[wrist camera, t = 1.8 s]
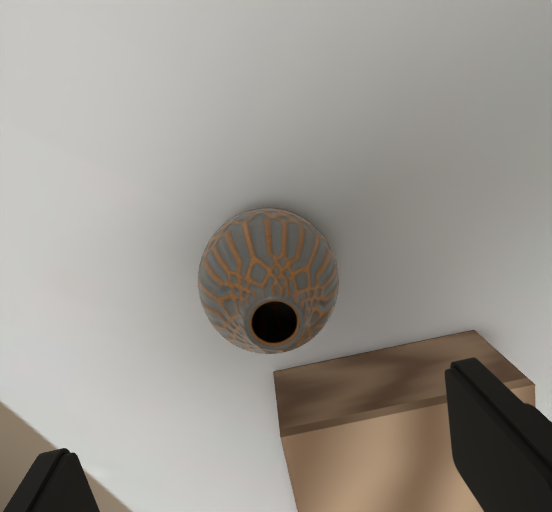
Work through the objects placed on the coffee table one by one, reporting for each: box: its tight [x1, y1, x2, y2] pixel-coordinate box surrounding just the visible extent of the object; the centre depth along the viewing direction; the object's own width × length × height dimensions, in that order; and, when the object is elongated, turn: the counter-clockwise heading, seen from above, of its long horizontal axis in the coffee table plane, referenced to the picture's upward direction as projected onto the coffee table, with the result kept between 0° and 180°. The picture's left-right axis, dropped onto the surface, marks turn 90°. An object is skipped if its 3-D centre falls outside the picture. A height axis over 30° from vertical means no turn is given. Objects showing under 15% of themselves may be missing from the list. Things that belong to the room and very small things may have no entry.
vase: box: [198, 208, 338, 354], centre depth 21 cm, size 7×7×9 cm
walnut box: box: [273, 330, 535, 512], centre depth 26 cm, size 13×13×6 cm
